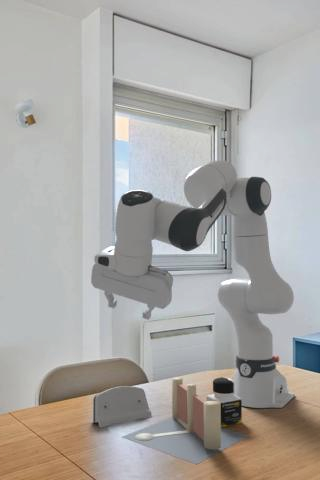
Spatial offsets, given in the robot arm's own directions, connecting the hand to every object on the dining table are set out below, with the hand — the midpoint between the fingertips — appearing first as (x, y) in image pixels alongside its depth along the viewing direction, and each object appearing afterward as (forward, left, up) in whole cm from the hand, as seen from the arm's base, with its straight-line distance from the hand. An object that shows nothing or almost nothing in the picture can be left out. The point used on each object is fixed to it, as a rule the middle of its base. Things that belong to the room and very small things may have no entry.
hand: (129, 312), depth 116 cm
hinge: (-14, -17, -33) cm, 40 cm away
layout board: (-14, +6, -33) cm, 36 cm away
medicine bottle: (-31, +7, -33) cm, 46 cm away
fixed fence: (-21, 0, -32) cm, 39 cm away
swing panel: (-14, +12, -31) cm, 37 cm away
